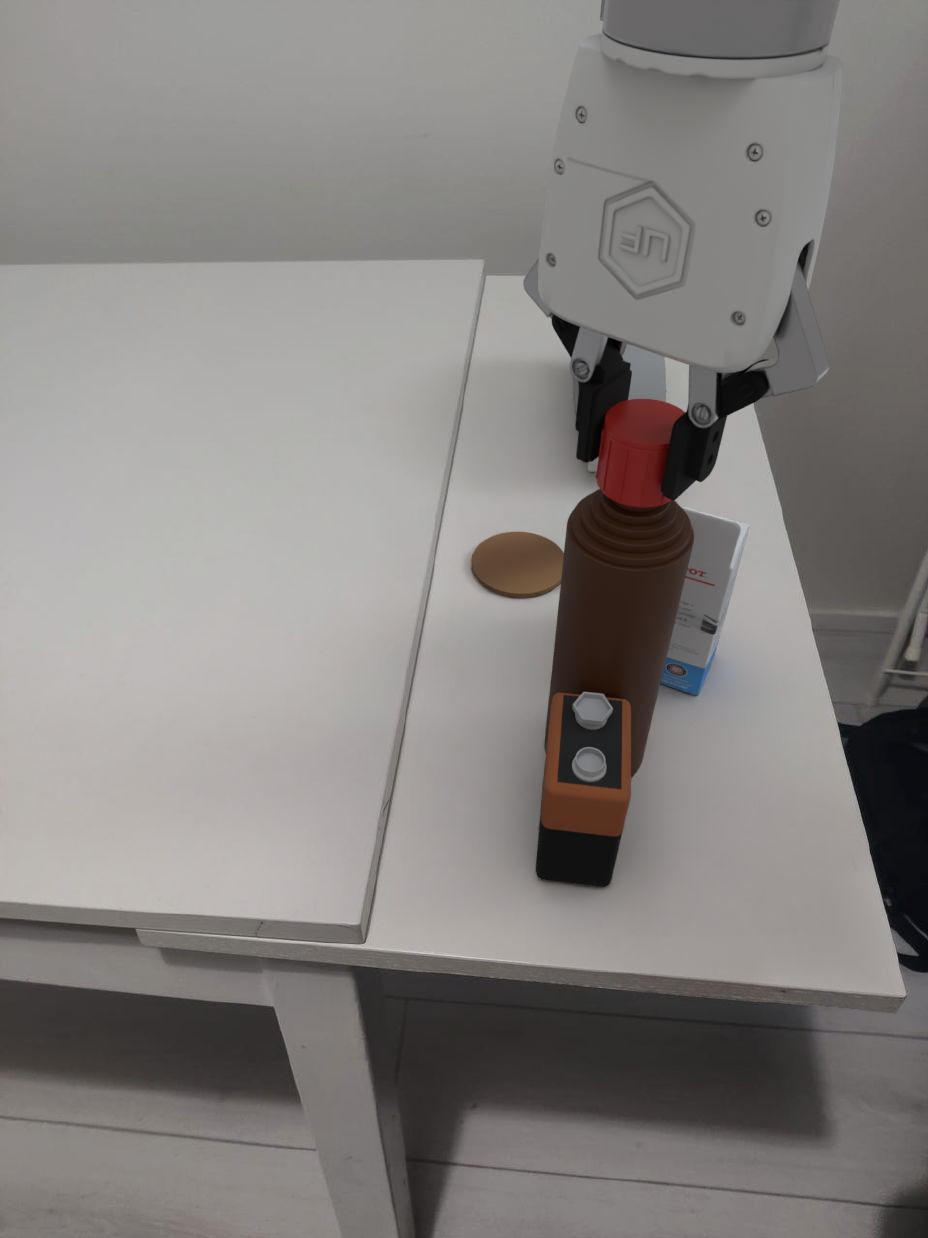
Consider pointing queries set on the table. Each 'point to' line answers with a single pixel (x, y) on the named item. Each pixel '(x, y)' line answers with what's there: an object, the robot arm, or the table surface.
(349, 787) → the table surface
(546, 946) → the table surface
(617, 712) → the battery
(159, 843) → the table surface
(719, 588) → the ink box
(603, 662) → the bottle
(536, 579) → the coaster
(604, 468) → the cap
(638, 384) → the alarm clock
